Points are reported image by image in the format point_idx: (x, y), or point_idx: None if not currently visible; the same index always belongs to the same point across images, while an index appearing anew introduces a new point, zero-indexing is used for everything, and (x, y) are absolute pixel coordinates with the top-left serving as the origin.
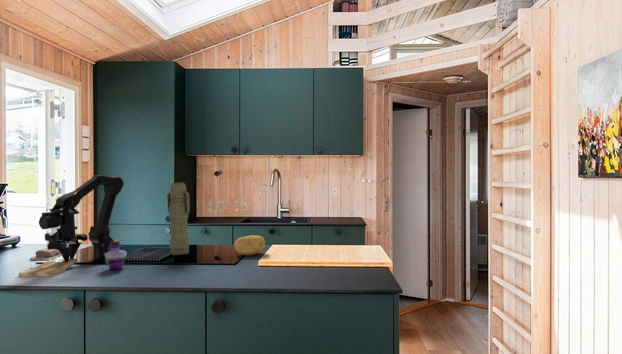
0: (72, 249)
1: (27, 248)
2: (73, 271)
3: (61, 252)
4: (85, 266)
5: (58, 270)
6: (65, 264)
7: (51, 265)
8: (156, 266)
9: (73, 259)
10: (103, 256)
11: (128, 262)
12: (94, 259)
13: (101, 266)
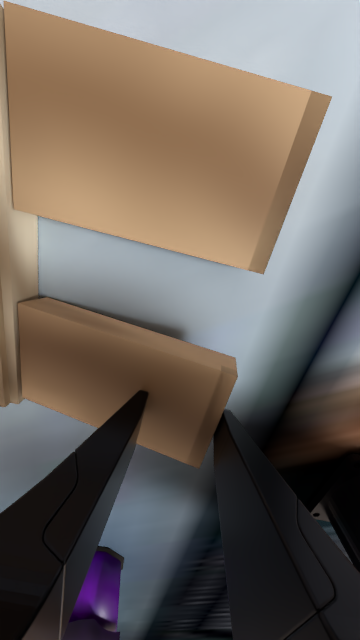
0: (257, 606)
1: None
2: (50, 430)
3: (9, 520)
4: None
5: None
6: (82, 401)
7: (148, 243)
8: (117, 627)
9: (182, 448)
10: (340, 524)
11: (209, 575)
12: (344, 464)
13: (153, 514)
